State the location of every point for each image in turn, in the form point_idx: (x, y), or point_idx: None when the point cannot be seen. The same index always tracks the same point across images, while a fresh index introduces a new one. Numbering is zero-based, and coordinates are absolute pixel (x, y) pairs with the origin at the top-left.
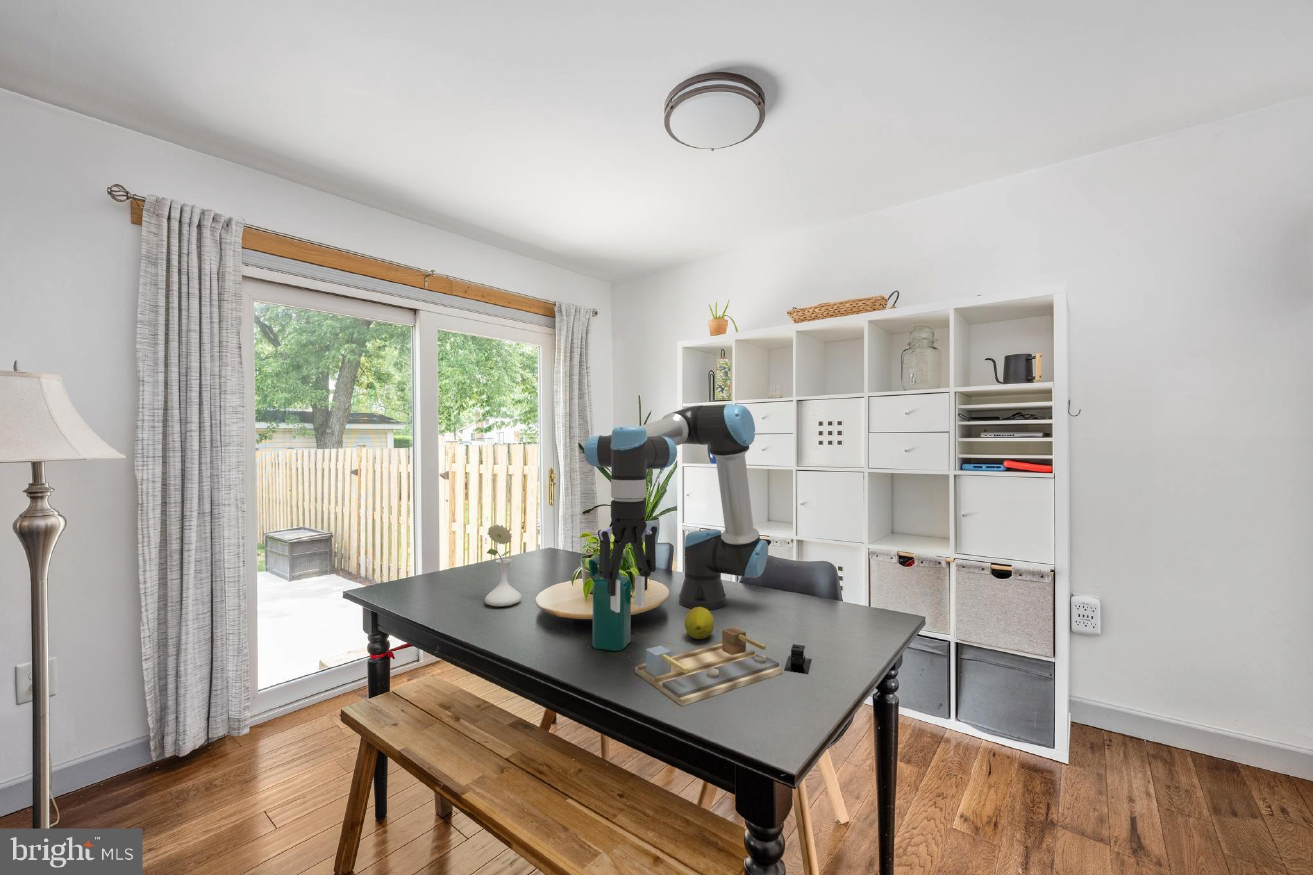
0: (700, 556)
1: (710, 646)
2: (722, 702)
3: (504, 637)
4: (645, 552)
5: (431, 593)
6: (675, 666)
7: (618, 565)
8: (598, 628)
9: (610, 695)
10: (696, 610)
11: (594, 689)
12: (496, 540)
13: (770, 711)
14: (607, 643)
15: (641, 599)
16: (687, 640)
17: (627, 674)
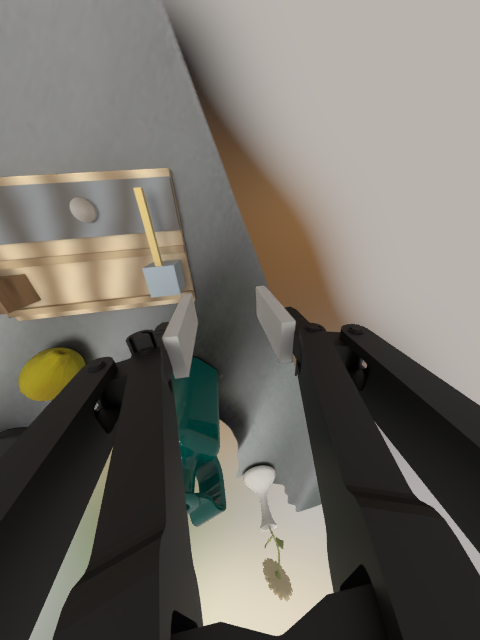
0: None
1: (59, 311)
2: (98, 141)
3: (285, 414)
4: (90, 487)
5: (299, 491)
6: (151, 222)
7: (320, 366)
8: (214, 385)
9: (248, 255)
10: (43, 386)
11: (258, 278)
12: (276, 564)
13: (3, 38)
14: (205, 367)
15: (189, 300)
16: (92, 357)
17: (206, 298)
